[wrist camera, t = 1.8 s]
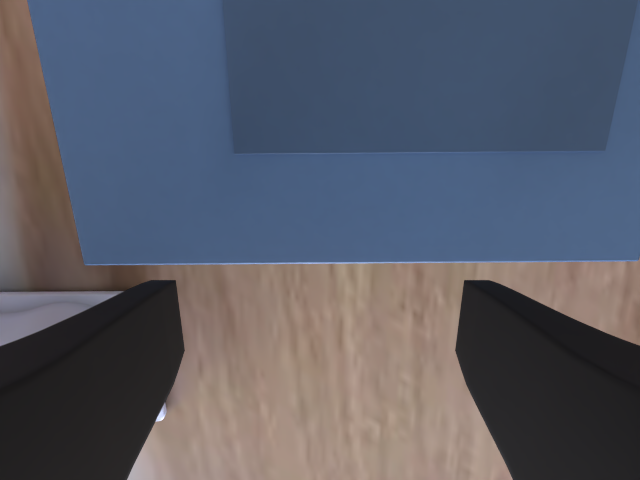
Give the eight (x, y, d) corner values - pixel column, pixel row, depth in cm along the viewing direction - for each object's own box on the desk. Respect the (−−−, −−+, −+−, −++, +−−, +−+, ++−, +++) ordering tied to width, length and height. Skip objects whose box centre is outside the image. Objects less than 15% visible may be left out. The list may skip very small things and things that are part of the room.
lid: (108, 246, 14) (81, 267, 13) (11, -258, 10) (-48, -322, 8) (606, 243, 14) (641, 263, 13) (726, -266, 10) (803, -333, 8)
